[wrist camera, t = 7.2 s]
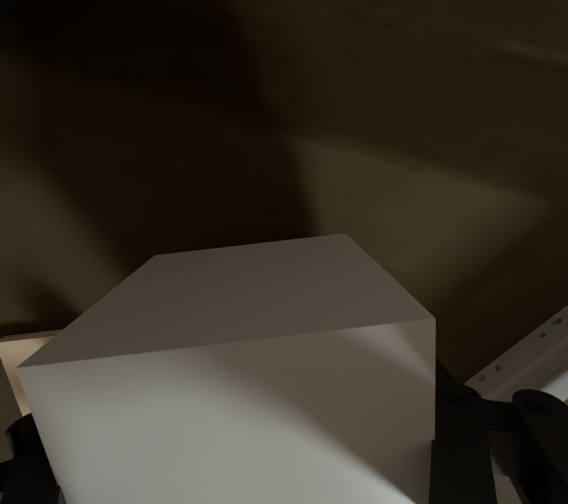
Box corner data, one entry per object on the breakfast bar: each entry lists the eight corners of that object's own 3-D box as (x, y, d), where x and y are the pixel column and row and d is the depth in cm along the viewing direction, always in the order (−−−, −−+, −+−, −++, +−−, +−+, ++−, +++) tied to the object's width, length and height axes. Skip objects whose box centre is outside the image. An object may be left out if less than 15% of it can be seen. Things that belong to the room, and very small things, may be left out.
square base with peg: (5, 336, 20) (-96, 403, 15) (122, 322, 20) (66, 384, 15) (40, 431, 22) (-37, 524, 17) (147, 418, 22) (106, 506, 17)
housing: (154, 255, 16) (15, 367, 7) (345, 233, 16) (435, 318, 7) (189, 415, 18) (115, 647, 10) (355, 396, 18) (433, 607, 10)
